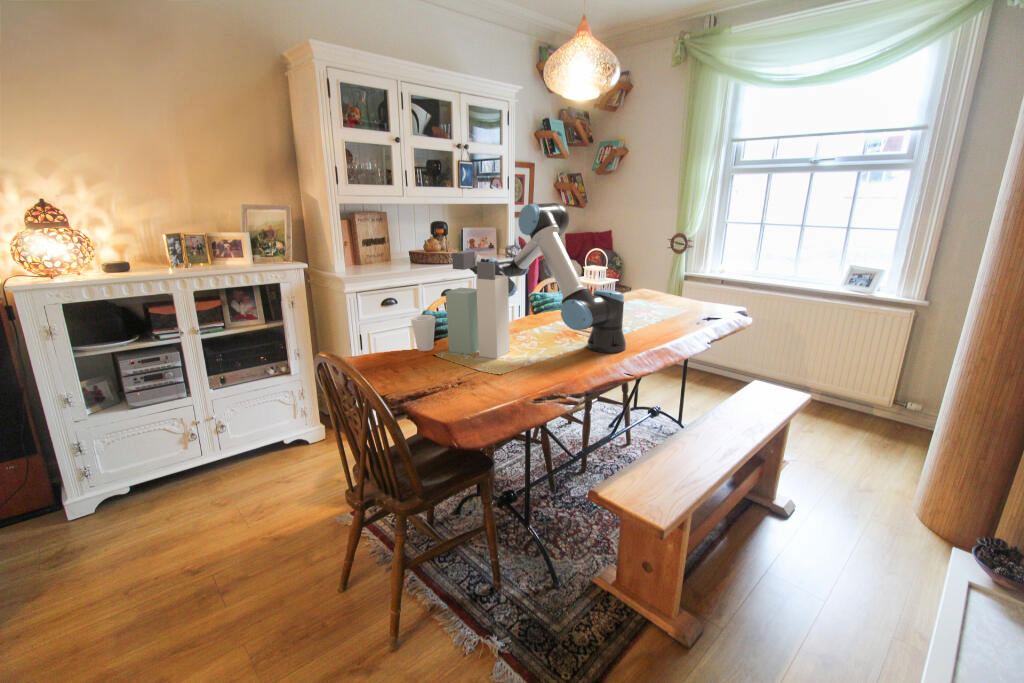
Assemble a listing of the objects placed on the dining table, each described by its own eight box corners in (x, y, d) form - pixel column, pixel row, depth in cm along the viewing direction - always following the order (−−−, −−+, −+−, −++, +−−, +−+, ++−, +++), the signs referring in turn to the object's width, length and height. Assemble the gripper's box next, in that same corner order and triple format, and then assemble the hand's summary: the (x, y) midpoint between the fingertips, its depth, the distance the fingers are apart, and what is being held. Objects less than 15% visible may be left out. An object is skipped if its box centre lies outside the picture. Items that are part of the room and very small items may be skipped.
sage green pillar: (483, 347, 192) (481, 289, 185) (470, 354, 183) (467, 294, 176) (462, 344, 196) (460, 287, 189) (449, 351, 188) (445, 292, 181)
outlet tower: (509, 351, 187) (507, 259, 176) (497, 359, 178) (494, 263, 168) (491, 348, 190) (489, 259, 180) (479, 356, 182) (475, 262, 171)
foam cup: (412, 346, 195) (410, 315, 191) (434, 344, 198) (432, 314, 194) (414, 353, 186) (412, 321, 182) (438, 350, 189) (436, 319, 185)
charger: (488, 263, 192) (487, 248, 190) (463, 269, 177) (463, 253, 175) (477, 262, 194) (477, 248, 192) (452, 269, 179) (452, 253, 177)
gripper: (480, 268, 209) (452, 246, 188) (516, 271, 201) (492, 248, 180) (476, 284, 208) (448, 264, 187) (512, 287, 200) (487, 266, 179)
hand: (469, 256), depth 184 cm, fingers closed on charger, 5 cm apart
